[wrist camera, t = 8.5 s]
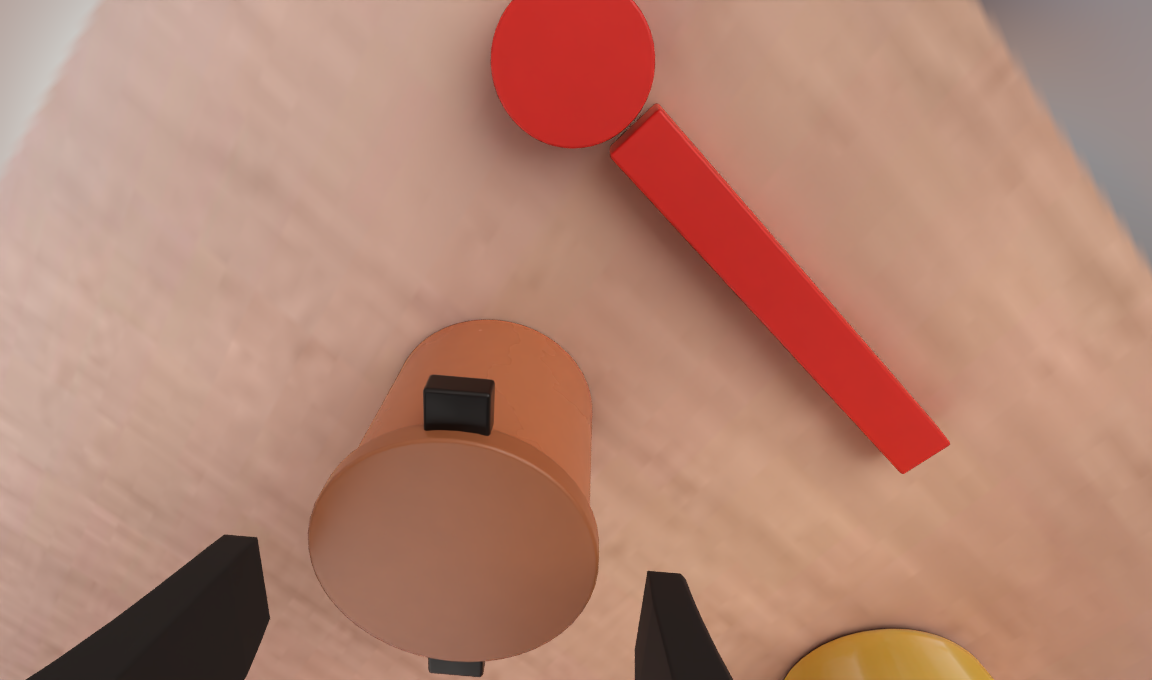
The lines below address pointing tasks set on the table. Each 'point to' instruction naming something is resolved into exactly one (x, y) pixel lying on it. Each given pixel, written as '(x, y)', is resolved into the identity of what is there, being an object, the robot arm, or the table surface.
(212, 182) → the table surface
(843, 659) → the flower pot
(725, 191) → the red spoon
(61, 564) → the table surface
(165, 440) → the table surface
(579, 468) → the copper pot
